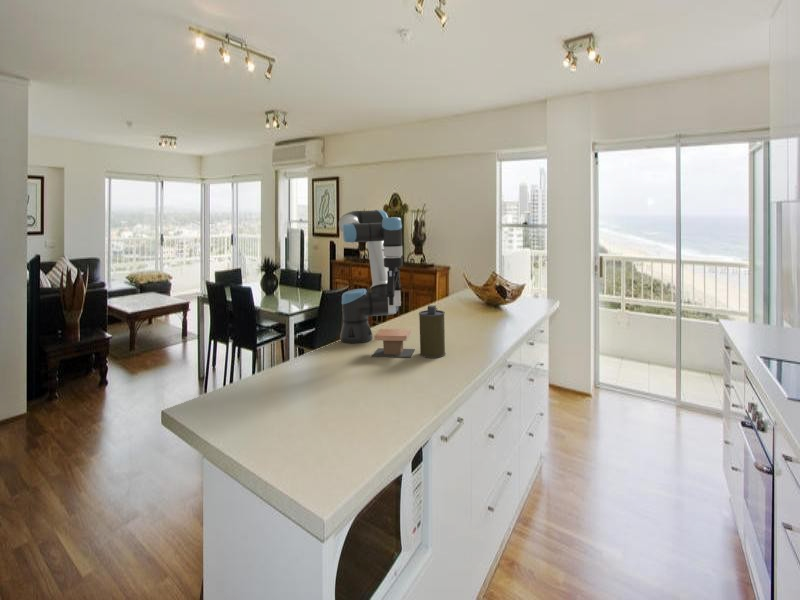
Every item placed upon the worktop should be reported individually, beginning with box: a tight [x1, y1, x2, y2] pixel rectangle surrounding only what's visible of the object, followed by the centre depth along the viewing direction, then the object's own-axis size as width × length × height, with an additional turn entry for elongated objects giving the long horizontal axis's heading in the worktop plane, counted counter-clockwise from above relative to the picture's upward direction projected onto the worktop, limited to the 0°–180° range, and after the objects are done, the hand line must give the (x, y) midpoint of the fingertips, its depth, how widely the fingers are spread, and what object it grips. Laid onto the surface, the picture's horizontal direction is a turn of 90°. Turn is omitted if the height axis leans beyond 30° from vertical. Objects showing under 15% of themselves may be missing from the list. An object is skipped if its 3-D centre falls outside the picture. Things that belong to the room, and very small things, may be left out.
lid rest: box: [371, 340, 416, 359], centre depth 178 cm, size 16×11×7 cm
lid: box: [373, 328, 412, 342], centre depth 177 cm, size 13×11×2 cm
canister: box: [418, 305, 446, 359], centre depth 174 cm, size 11×10×20 cm
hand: (394, 309), depth 175 cm, fingers open, 13 cm apart
